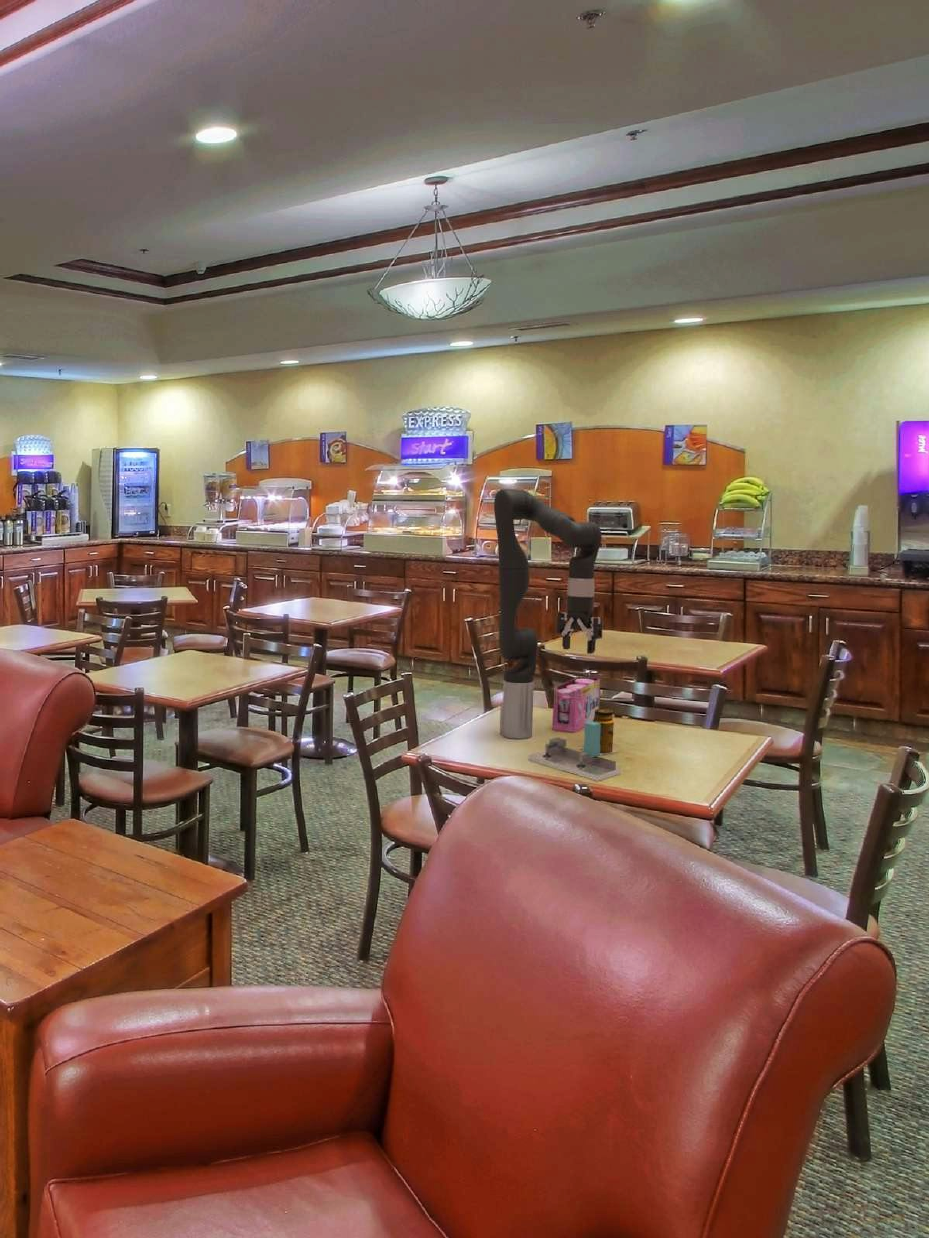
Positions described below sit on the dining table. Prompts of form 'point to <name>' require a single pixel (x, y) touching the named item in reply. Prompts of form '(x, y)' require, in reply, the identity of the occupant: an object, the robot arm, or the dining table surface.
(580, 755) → the leg
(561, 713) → the gum box
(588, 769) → the hole plate
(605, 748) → the condiment
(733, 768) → the dining table surface
